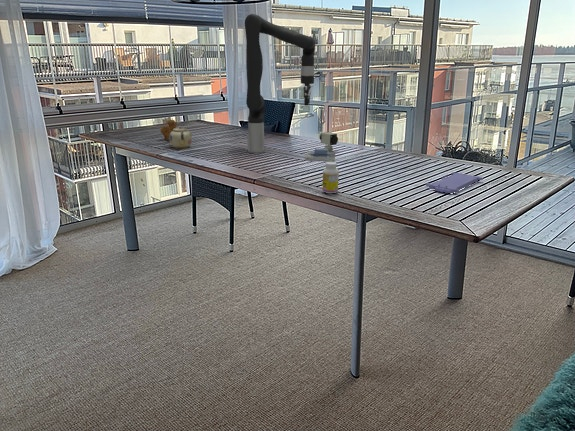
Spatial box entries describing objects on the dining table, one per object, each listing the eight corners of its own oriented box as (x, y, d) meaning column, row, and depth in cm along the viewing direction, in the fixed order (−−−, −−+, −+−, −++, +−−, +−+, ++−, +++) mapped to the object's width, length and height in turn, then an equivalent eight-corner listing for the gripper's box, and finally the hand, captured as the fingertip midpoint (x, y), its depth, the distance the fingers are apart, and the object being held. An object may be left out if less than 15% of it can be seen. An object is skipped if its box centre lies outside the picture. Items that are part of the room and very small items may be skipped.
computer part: (422, 190, 204) (455, 197, 194) (423, 180, 202) (456, 187, 193) (452, 177, 224) (483, 183, 215) (453, 168, 223) (484, 174, 213)
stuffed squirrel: (184, 139, 316) (183, 119, 311) (169, 142, 304) (168, 122, 300) (173, 137, 320) (172, 118, 316) (158, 141, 309) (156, 121, 304)
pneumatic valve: (332, 153, 273) (332, 133, 269) (319, 150, 282) (319, 130, 278) (339, 152, 276) (339, 132, 272) (326, 149, 285) (326, 129, 281)
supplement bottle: (321, 190, 202) (322, 161, 197) (336, 190, 202) (337, 161, 198) (323, 194, 195) (324, 164, 191) (339, 194, 196) (340, 164, 192)
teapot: (164, 147, 291) (161, 125, 286) (182, 143, 300) (181, 123, 295) (181, 151, 277) (179, 129, 273) (200, 148, 286) (198, 126, 282)
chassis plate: (305, 160, 256) (305, 156, 255) (307, 154, 270) (307, 151, 269) (334, 161, 254) (334, 157, 253) (335, 155, 268) (335, 152, 267)
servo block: (310, 158, 261) (310, 149, 259) (311, 156, 265) (311, 148, 263) (330, 159, 259) (330, 150, 258) (330, 157, 263) (330, 148, 262)
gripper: (302, 74, 265) (301, 103, 270) (299, 75, 252) (299, 105, 257) (315, 74, 264) (314, 103, 270) (313, 75, 251) (312, 106, 256)
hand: (307, 104), depth 263 cm, fingers open, 8 cm apart
